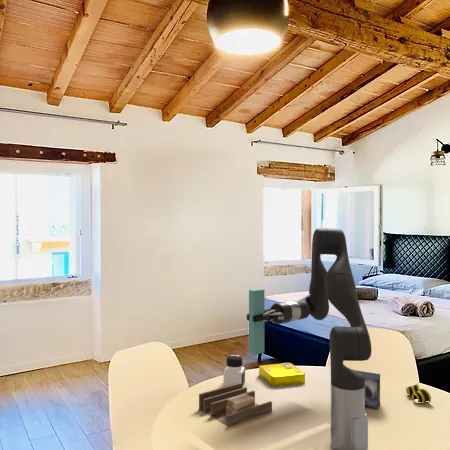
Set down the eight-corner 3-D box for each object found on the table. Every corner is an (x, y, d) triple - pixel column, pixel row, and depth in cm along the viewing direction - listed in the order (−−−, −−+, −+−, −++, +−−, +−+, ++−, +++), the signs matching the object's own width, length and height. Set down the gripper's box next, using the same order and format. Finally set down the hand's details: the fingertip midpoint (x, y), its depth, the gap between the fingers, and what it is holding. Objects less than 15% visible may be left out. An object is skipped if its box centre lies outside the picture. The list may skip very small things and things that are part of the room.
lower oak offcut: (257, 412, 141) (257, 405, 141) (236, 420, 136) (236, 412, 136) (247, 407, 145) (247, 400, 145) (226, 414, 140) (226, 406, 140)
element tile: (257, 375, 183) (257, 364, 183) (290, 372, 187) (290, 361, 187) (271, 388, 168) (271, 375, 168) (306, 384, 173) (306, 372, 173)
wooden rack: (272, 416, 142) (272, 395, 142) (228, 431, 131) (228, 409, 131) (240, 400, 155) (240, 382, 155) (198, 413, 144) (198, 393, 144)
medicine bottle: (242, 392, 163) (242, 359, 163) (223, 390, 165) (223, 358, 165) (245, 385, 170) (245, 354, 170) (226, 383, 172) (227, 353, 172)
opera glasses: (405, 397, 161) (403, 383, 161) (419, 394, 162) (417, 380, 162) (417, 407, 152) (415, 393, 152) (432, 404, 152) (430, 390, 152)
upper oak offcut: (254, 405, 141) (254, 397, 141) (236, 411, 136) (236, 403, 136) (245, 401, 144) (245, 393, 144) (227, 407, 140) (227, 399, 140)
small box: (345, 404, 152) (345, 374, 152) (349, 398, 158) (349, 368, 158) (377, 410, 147) (377, 379, 147) (380, 403, 153) (380, 373, 153)
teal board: (264, 352, 154) (264, 289, 154) (253, 355, 151) (253, 290, 151) (259, 350, 156) (259, 288, 156) (248, 353, 152) (248, 290, 153)
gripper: (272, 299, 167) (237, 304, 157) (299, 304, 156) (264, 310, 146) (272, 319, 167) (237, 325, 157) (299, 325, 156) (264, 333, 146)
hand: (250, 318), depth 151 cm, fingers closed on teal board, 2 cm apart
